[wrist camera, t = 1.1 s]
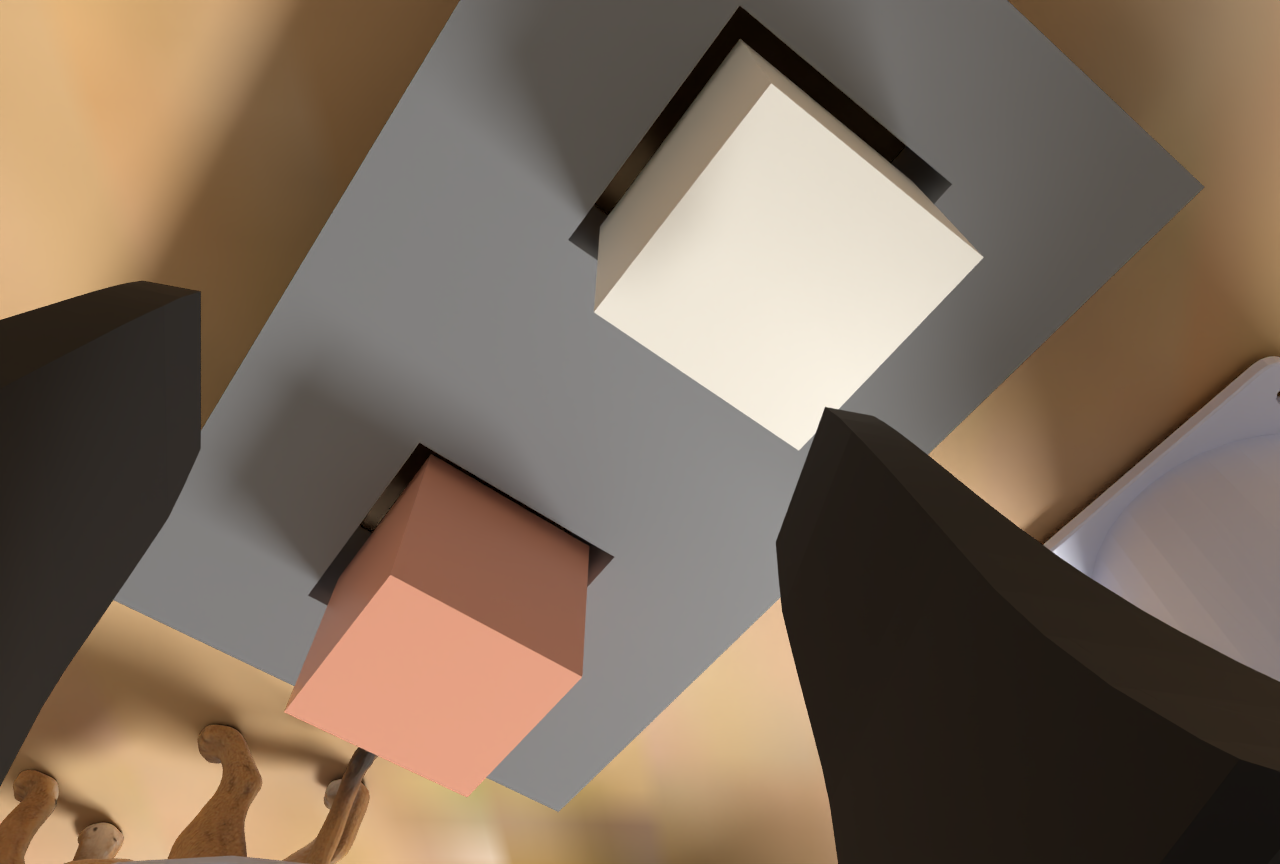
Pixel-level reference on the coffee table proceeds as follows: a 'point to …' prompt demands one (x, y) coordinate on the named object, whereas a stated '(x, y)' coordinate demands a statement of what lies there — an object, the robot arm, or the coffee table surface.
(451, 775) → the salmon pink block
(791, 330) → the cream cube
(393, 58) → the coffee table surface
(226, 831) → the lion figurine
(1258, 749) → the robot arm
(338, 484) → the button housing
